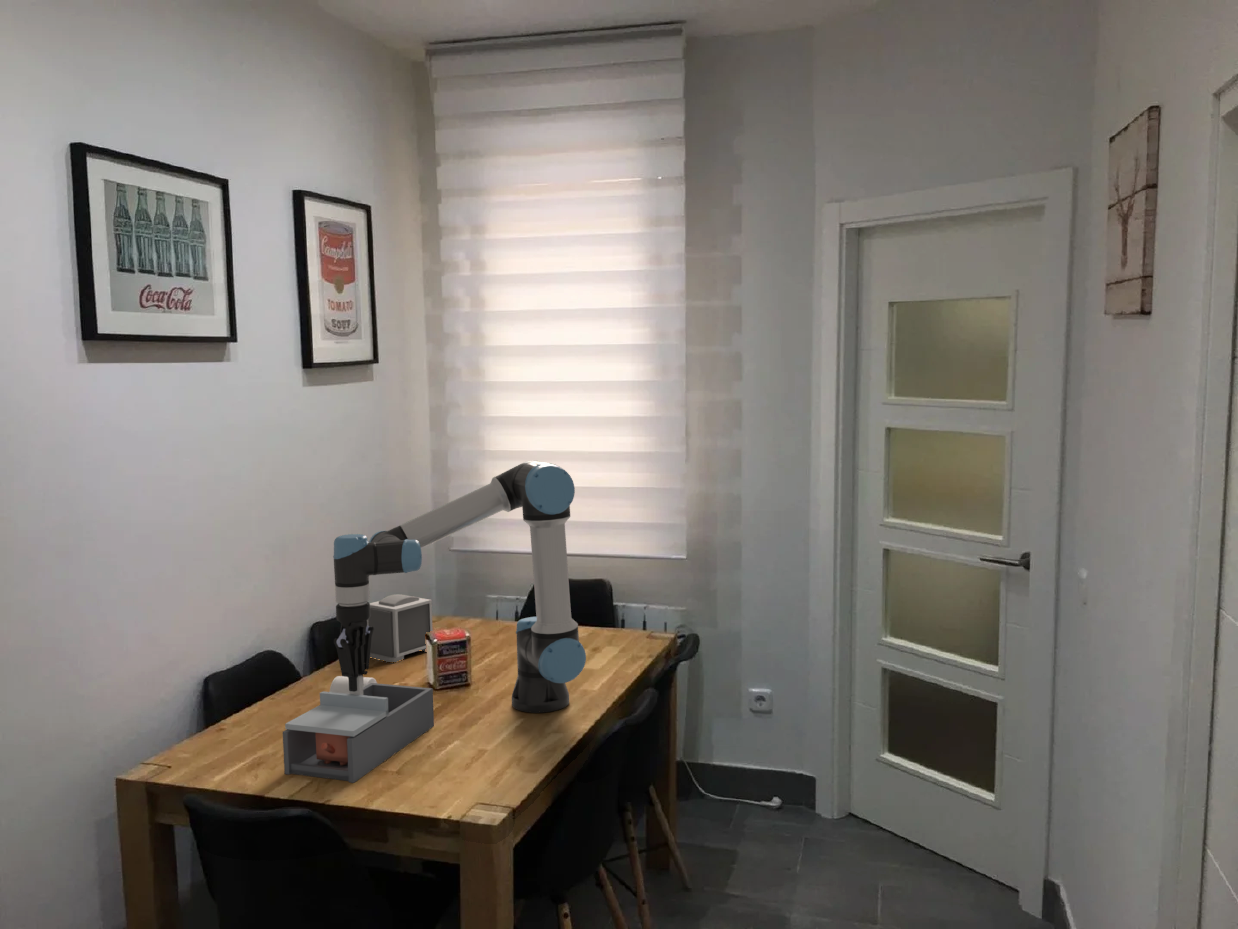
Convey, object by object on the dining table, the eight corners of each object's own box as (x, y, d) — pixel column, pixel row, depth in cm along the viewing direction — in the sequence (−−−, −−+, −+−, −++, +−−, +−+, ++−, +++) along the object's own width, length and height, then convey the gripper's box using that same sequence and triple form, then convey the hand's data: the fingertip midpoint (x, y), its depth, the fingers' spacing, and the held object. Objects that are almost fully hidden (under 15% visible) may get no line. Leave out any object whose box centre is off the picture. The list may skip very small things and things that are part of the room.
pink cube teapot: (308, 769, 211) (306, 732, 210) (338, 749, 222) (337, 714, 222) (339, 773, 209) (338, 735, 208) (368, 752, 220) (367, 717, 220)
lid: (388, 714, 219) (387, 697, 219) (353, 736, 206) (352, 718, 206) (323, 708, 224) (322, 691, 224) (285, 729, 211) (284, 711, 211)
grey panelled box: (409, 643, 316) (407, 588, 314) (437, 649, 308) (435, 593, 306) (364, 657, 301) (361, 599, 299) (392, 663, 293) (390, 604, 292)
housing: (434, 726, 239) (432, 688, 238) (353, 782, 206) (351, 739, 205) (372, 719, 245) (371, 683, 244) (284, 774, 211) (282, 731, 210)
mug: (365, 713, 250) (363, 683, 249) (329, 711, 252) (328, 681, 251) (385, 698, 261) (384, 669, 261) (351, 696, 263) (350, 667, 263)
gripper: (354, 595, 228) (358, 693, 230) (321, 608, 215) (326, 711, 217) (382, 597, 225) (386, 696, 227) (350, 610, 213) (355, 714, 215)
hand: (356, 703), depth 222 cm, fingers closed
